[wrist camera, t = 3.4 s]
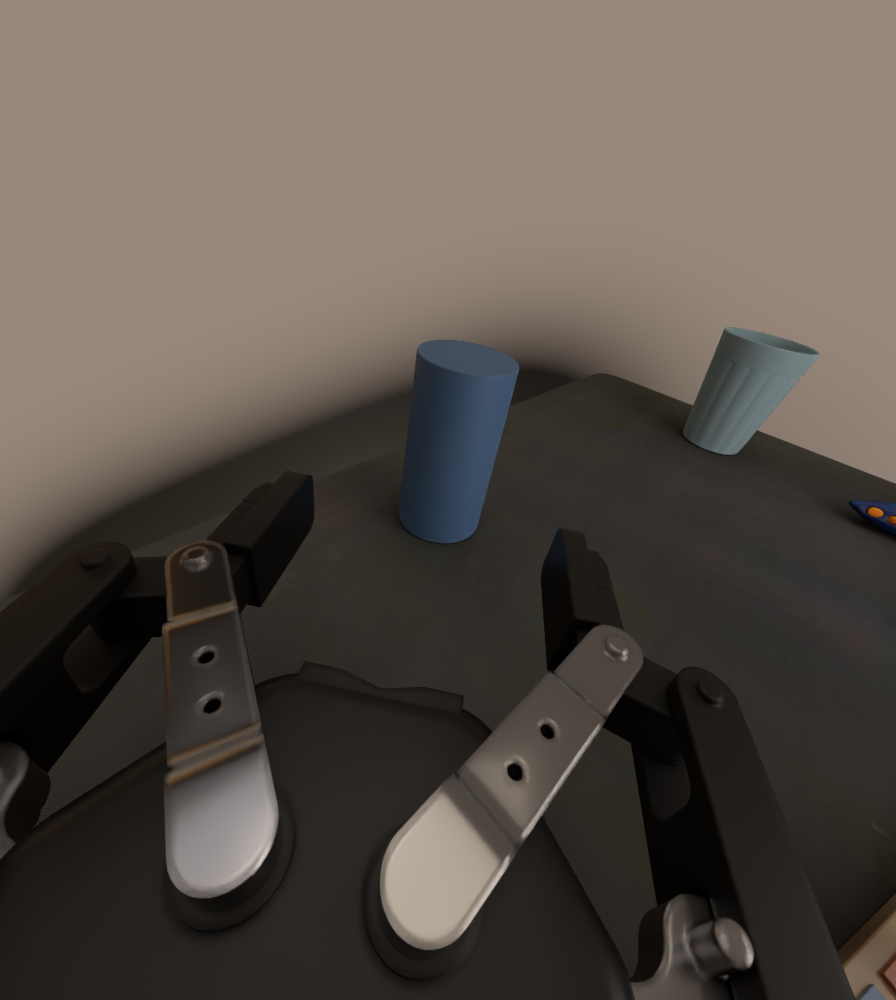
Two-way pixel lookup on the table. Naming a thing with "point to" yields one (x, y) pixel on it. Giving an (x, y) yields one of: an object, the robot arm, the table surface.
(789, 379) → the cup
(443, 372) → the blue canister
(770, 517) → the table surface
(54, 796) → the table surface
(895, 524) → the tapered navy handle
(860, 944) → the board
